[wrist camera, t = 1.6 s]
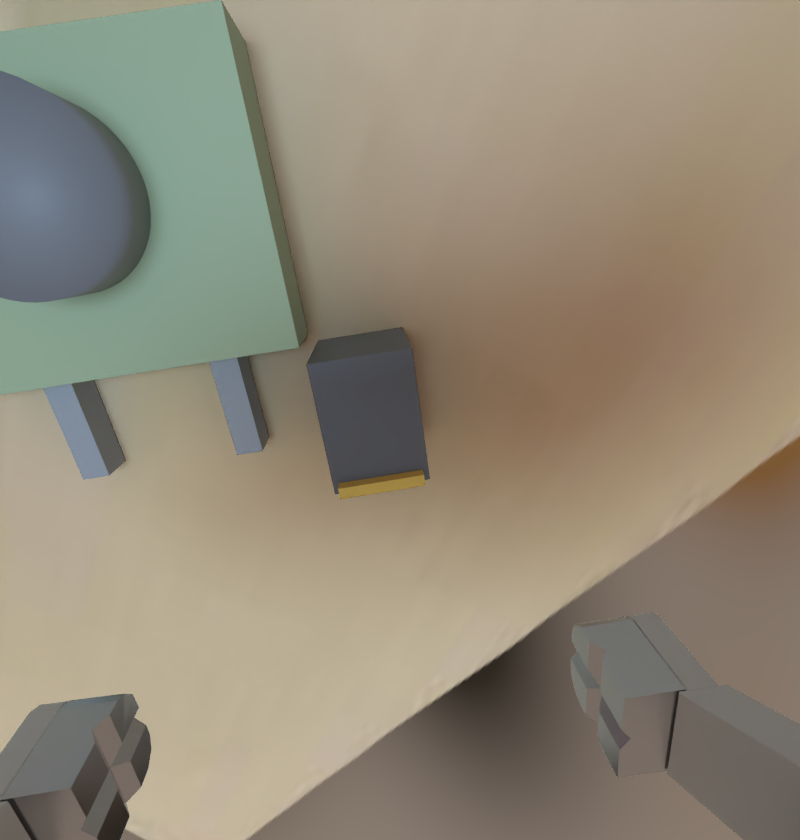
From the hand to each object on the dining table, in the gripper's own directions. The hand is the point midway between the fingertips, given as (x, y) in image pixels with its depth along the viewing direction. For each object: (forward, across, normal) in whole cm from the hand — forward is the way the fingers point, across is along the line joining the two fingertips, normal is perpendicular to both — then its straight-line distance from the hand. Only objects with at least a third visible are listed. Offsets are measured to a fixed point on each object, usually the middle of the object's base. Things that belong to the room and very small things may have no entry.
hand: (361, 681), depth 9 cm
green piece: (+21, +12, -7) cm, 25 cm away
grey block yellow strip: (+21, -1, +1) cm, 21 cm away
